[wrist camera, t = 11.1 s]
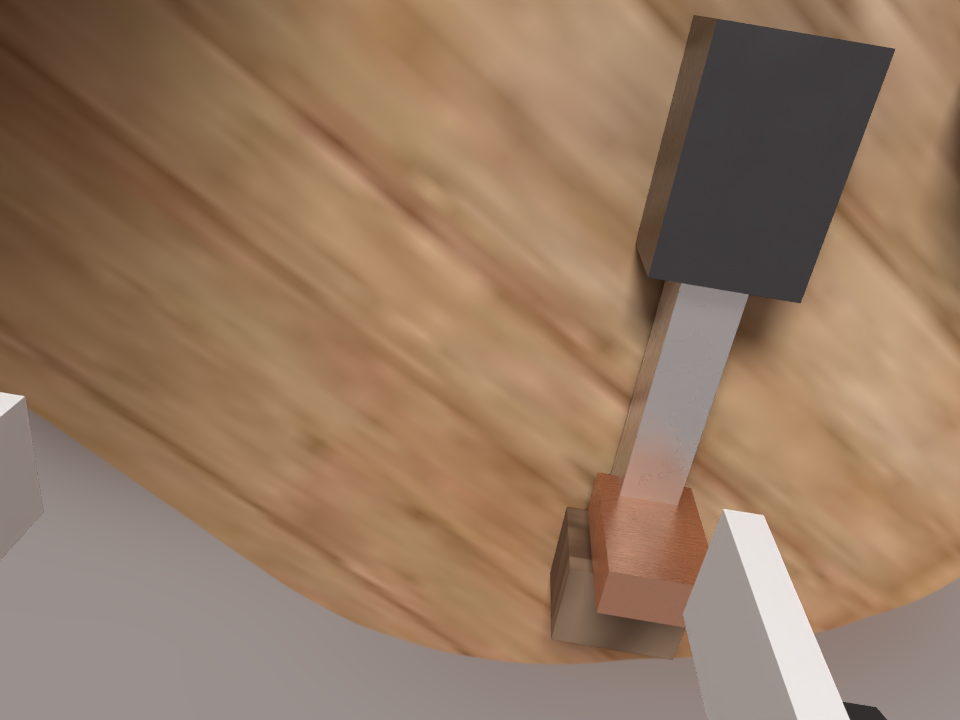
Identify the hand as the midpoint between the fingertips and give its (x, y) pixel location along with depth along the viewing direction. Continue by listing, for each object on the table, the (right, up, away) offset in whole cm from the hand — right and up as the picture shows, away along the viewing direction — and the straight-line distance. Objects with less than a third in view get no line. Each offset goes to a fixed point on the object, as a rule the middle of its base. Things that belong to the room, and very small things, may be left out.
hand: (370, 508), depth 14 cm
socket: (+12, -11, +38) cm, 41 cm away
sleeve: (+16, +14, +26) cm, 33 cm away
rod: (+14, +2, +32) cm, 35 cm away
